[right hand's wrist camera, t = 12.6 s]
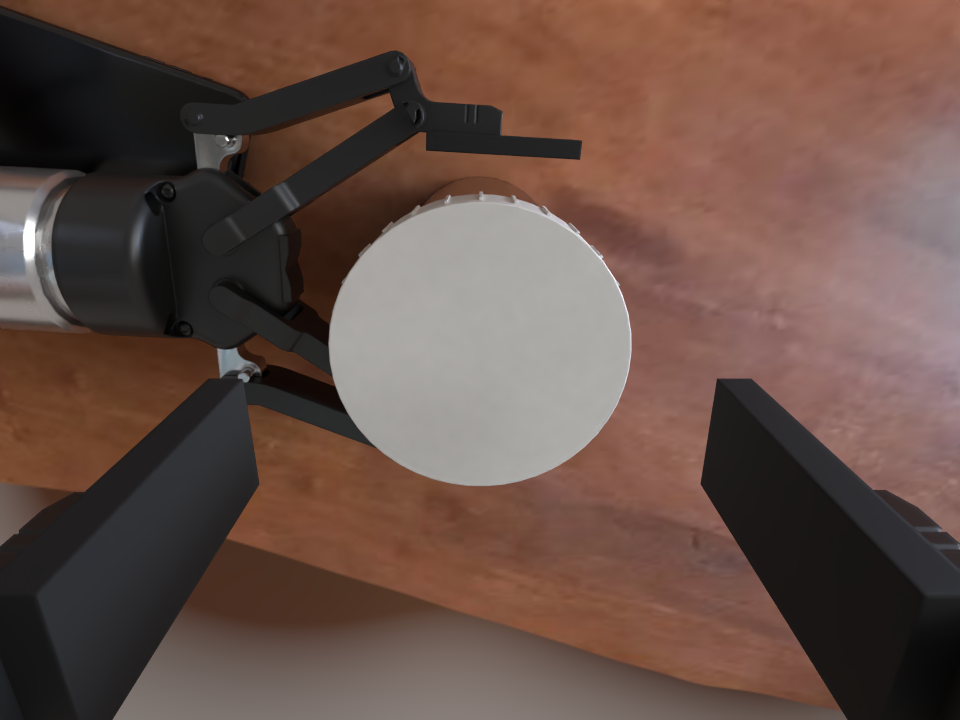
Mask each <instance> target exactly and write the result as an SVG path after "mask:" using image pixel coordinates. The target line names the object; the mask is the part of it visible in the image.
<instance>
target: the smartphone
mask: <svg viewBox="0 0 960 720" xmlns="http://www.w3.org/2000/svg"><path fill="white" fill-rule="evenodd" d="M247 100H250V99H249V98H248V97H247V96H246V95H245V94H244V93H243V92H241V91H239V90H237V89H235V88H233V87H230V86H227V85H224V84H221V83H219V82H216V81H213V80H212V79H209V78H206V77H202V76H199V75H196V74H193V73H191V72H189V71H187V70H184V69H181V68H178V67H175V66H172V65H171V66H170V65H167V64H165V63H164V62H161V61H158V60H155V59H152V58H150V57H147V56H142V55H139V54H136V53H133V52H131V51H128V50H125V49H122V48H119V47H116V46H113V45H111V44H108V43H105V42H102V41H99V40H96V39H94V38H91V37H88V36H85V35H82V34H79V33H77V32H74V31H71V30H68V29H65V28H62V27H59V26H57V25H54V24H51V23H48V22H45V21H42V20H40V19H37V18H34V17H31V16H28V15H25V14H23V13H20V12H17V11H14V10H11V9H8V8H6V7H3V6H0V166H11V167H30V168H48V169H67V170H78V171H80V172H83V173H86V174H89V173H92V172H118V173H135V174H152V175H169V176H184V175H187V174H189V173H191V172H192V171H194V170H196V169H197V160H196V151H195V142H194V133H192V132H190V131H188V130H187V129H186V128H185V127H184V126H183V124H182V122H181V119H180V111H181V109H182V108H183V106H184V105H186V104H187V103H210V104H226V105H235V104H238V103H241V102H244V101H247ZM250 138H251V135H249V143H250ZM248 149H249V146H248V148H247V150H246V151H245V152H243V153H240V154H236V155H234V156H232V157H231V158H230V160H229V162H228V169H229V170H231V171H232V172H234V173H235V174H236V175H238V176H239V177H240V178H242V179H243V176H244V171H245V165H246V160H247V154H248Z"/></svg>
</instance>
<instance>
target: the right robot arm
mask: <svg viewBox="0 0 960 720" xmlns="http://www.w3.org/2000/svg"><path fill="white" fill-rule="evenodd" d="M258 486H259V478H258V472H257V466H256V459H255V453H254V447H253V440H252V434H251V427H250V421H249V415H248V408H247V402H246V395H245V389H244V383H243V379H208V380H207V381H206V382H205V383H203V384H202V385H201V386H200V387H199V388H198V389H197V390H196V391H195V392H194V393H193V394H191V395H190V396H189V397H188V398H187V399H186V400H185V401H184V402H183V403H182V404H181V405H179V406H178V407H177V408H176V409H175V410H174V411H173V412H172V413H171V414H170V415H168V416H167V417H166V418H165V419H164V420H163V421H162V422H161V423H160V424H159V425H158V426H156V427H155V428H154V429H153V430H152V431H151V432H150V433H149V434H148V435H147V436H146V437H144V438H143V439H142V440H141V441H140V442H139V443H138V444H137V445H136V446H135V447H134V448H132V449H131V450H130V451H129V452H128V453H127V454H126V455H125V456H124V457H123V458H121V459H120V460H119V461H118V462H117V463H116V464H115V465H114V466H113V467H112V468H111V469H109V470H108V471H107V472H106V473H105V474H104V475H103V476H102V477H101V478H100V479H99V480H97V481H96V482H95V483H94V484H93V485H92V486H91V487H90V488H89V489H88V490H86V491H85V492H74V493H72V494H70V495H69V496H67V497H65V498H63V499H61V500H59V501H58V502H56V503H54V504H52V505H50V506H48V507H47V508H45V509H43V510H42V511H41V512H39V513H38V514H37V515H36V516H35V517H34V518H33V519H31V520H30V521H29V522H28V523H27V524H26V525H24V526H23V527H22V528H21V529H20V530H19V534H14V535H13V536H12V537H11V538H9V539H8V540H7V541H6V542H5V543H4V544H3V545H1V546H0V720H113V718H114V716H115V715H116V713H117V711H118V710H119V708H120V707H121V705H122V704H123V702H124V700H125V699H126V697H127V695H128V694H129V692H130V691H131V689H132V687H133V686H134V684H135V683H136V681H137V679H138V678H139V676H140V675H141V673H142V671H143V670H144V668H145V667H146V665H147V663H148V662H149V660H150V659H151V657H152V655H153V654H154V652H155V651H156V649H157V647H158V646H159V644H160V643H161V641H162V639H163V638H164V636H165V634H166V633H167V631H168V630H169V628H170V627H171V625H172V623H173V622H174V620H175V618H176V617H177V615H178V614H179V612H180V611H181V609H182V607H183V606H184V604H185V603H186V601H187V599H188V598H189V596H190V595H191V593H192V591H193V590H194V588H195V587H196V585H197V583H198V582H199V580H200V579H201V577H202V575H203V574H204V572H205V570H206V569H207V567H208V566H209V564H210V562H211V561H212V559H213V558H214V556H215V554H216V553H217V551H218V550H219V548H220V546H221V545H222V543H223V542H224V540H225V538H226V537H227V535H228V534H229V532H230V530H231V529H232V527H233V526H234V524H235V522H236V521H237V519H238V518H239V516H240V514H241V513H242V511H243V510H244V508H245V506H246V505H247V503H248V502H249V500H250V498H251V497H252V495H253V494H254V492H255V490H256V489H257V487H258ZM701 486H702V487H703V489H704V490H705V492H706V494H707V495H708V497H709V498H710V500H711V502H712V503H713V505H714V506H715V508H716V510H717V511H718V513H719V514H720V516H721V518H722V519H723V521H724V522H725V524H726V526H727V527H728V529H729V530H730V532H731V534H732V535H733V537H734V538H735V540H736V542H737V543H738V545H739V546H740V548H741V550H742V551H743V553H744V554H745V556H746V558H747V559H748V561H749V562H750V564H751V566H752V567H753V569H754V570H755V572H756V574H757V575H758V577H759V579H760V580H761V582H762V583H763V585H764V587H765V588H766V590H767V591H768V593H769V595H770V596H771V598H772V599H773V601H774V603H775V604H776V606H777V607H778V609H779V611H780V612H781V614H782V615H783V617H784V619H785V620H786V622H787V623H788V625H789V627H790V628H791V630H792V631H793V633H794V635H795V636H796V638H797V639H798V641H799V643H800V644H801V646H802V647H803V649H804V651H805V652H806V654H807V655H808V657H809V659H810V660H811V662H812V663H813V665H814V667H815V668H816V670H817V671H818V673H819V675H820V676H821V678H822V679H823V681H824V683H825V684H826V686H827V687H828V689H829V691H830V692H831V694H832V695H833V697H834V699H835V700H836V702H837V704H838V705H839V707H840V708H841V710H842V712H843V713H844V715H845V716H846V718H847V719H848V720H960V543H959V542H957V541H956V540H955V539H954V538H953V537H952V536H950V535H949V534H948V533H947V532H942V528H941V527H940V526H939V525H938V524H936V523H935V522H934V521H933V520H932V519H931V518H929V517H928V516H927V515H926V514H925V513H924V512H922V511H921V510H920V509H919V508H918V507H916V506H914V505H912V504H910V503H909V502H907V501H905V500H903V499H901V498H899V497H898V496H896V495H894V494H892V493H890V492H888V491H887V490H872V489H871V488H870V487H869V486H868V485H867V484H866V483H865V482H864V481H863V480H861V479H860V478H859V477H858V476H857V475H856V474H855V473H854V472H853V471H852V470H851V469H849V468H848V467H847V466H846V465H845V464H844V463H843V462H842V461H841V460H840V459H839V458H837V457H836V456H835V455H834V454H833V453H832V452H831V451H830V450H829V449H828V448H826V447H825V446H824V445H823V444H822V443H821V442H820V441H819V440H818V439H817V438H816V437H814V436H813V435H812V434H811V433H810V432H809V431H808V430H807V429H806V428H805V427H804V426H802V425H801V424H800V423H799V422H798V421H797V420H796V419H795V418H794V417H793V416H792V415H790V414H789V413H788V412H787V411H786V410H785V409H784V408H783V407H782V406H781V405H779V404H778V403H777V402H776V401H775V400H774V399H773V398H772V397H771V396H770V395H769V394H767V393H766V392H765V391H764V390H763V389H762V388H761V387H760V386H759V385H758V384H757V383H755V382H754V381H753V380H752V379H717V383H716V389H715V395H714V402H713V408H712V415H711V421H710V427H709V434H708V440H707V447H706V453H705V459H704V466H703V472H702V478H701Z"/></svg>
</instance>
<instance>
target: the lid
mask: <svg viewBox="0 0 960 720" xmlns="http://www.w3.org/2000/svg"><path fill="white" fill-rule="evenodd" d="M579 233H580V232H579V231H578V230H577V229H576V228H575V227H574V226H573V225H572V224H571V223H569V224H566V223H565V222H564V221H562V220H561V219H559V218H558V217H556V216H555V215H553V214H552V213H550V212H549V211H548V210H547V208H546V207H544V206H542V208H540V207H538V206H536V205H533V204H531V203H528V202H525V201H522V200H518V199H517V198H516V197H515V196H514V195H512V196H511V197H505V196H499V195H488V194H483V192H479V194H471V195H461V196H454V197H451V196H450V195H447V196H446V198H445V199H442V200H438V201H435V202H432V203H430V204H427V205H425V206H422V207H420V205H418V206H416V207H415V208H414V210H413V211H412V212H410V213H409V214H407V215H405V216H403V217H402V218H400V219H399V220H398V221H396V222H395V223H393V222H390V223H389V224H388V225H387V226H386V227H385V228H384V229H383V230H382V234H381V235H380V236H379V237H378V238H377V239H376V240H375V241H374V242H373V243H372V245H371V244H370V243H369V244H368V245H367V246H366V247H365V248H364V249H363V250H362V251H361V252H360V254H359V255H358V256H359V257H360V258H359V259H358V261H357V262H356V263H355V265H354V266H353V267H352V269H351V270H350V272H349V273H348V275H347V276H346V277H345V278H344V280H343V281H342V286H341V288H340V291H339V294H338V296H337V299H336V302H335V304H334V308H333V310H332V317H331V322H330V329H329V343H328V344H329V359H330V366H331V371H332V375H333V380H334V383H335V386H336V389H337V391H338V394H339V397H340V399H341V401H342V403H343V405H344V407H345V409H346V411H347V413H348V414H349V416H350V417H351V419H352V420H353V422H354V423H355V425H356V426H357V427H358V429H359V430H360V431H361V432H362V433H363V434H364V435H365V437H366V438H367V439H368V440H369V441H370V442H371V443H372V444H373V445H374V446H375V447H377V448H378V449H379V450H380V451H381V452H382V453H384V454H385V455H386V456H388V457H389V458H391V459H392V460H394V461H395V462H397V463H398V464H400V465H402V466H404V467H406V468H408V469H409V470H411V471H413V472H415V473H418V474H421V475H423V476H426V477H429V478H431V479H435V480H439V481H443V482H447V483H452V484H459V485H466V486H491V485H503V484H508V483H513V482H518V481H522V480H525V479H528V478H531V477H534V476H537V475H540V474H542V473H544V472H546V471H548V470H551V469H553V468H555V467H557V466H558V465H560V464H561V463H563V462H565V461H566V460H568V459H570V458H571V457H572V456H574V455H575V454H576V453H577V452H579V451H580V450H581V449H582V448H584V447H585V446H586V445H587V444H588V443H589V442H590V441H591V440H592V439H593V438H594V437H595V436H596V435H597V434H598V432H599V431H600V430H601V428H602V427H603V426H604V424H605V423H606V422H607V421H608V419H609V417H610V416H611V414H612V412H613V410H614V409H615V407H616V405H617V403H618V401H619V399H620V396H621V394H622V391H623V389H624V386H625V383H626V379H627V375H628V371H629V365H630V358H631V329H630V323H629V316H628V312H627V309H626V305H625V302H624V299H623V295H622V293H621V291H620V289H619V287H618V286H619V283H618V282H617V281H616V279H615V278H614V277H613V275H612V274H611V272H610V271H609V269H608V268H607V266H606V264H605V263H604V261H603V260H602V259H601V258H603V256H602V255H601V254H600V253H599V252H598V251H597V250H596V249H595V248H594V247H593V246H592V245H591V246H590V245H589V244H588V243H587V242H586V241H585V240H584V239H583V238H582V237H581V236H580V235H579Z"/></svg>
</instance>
